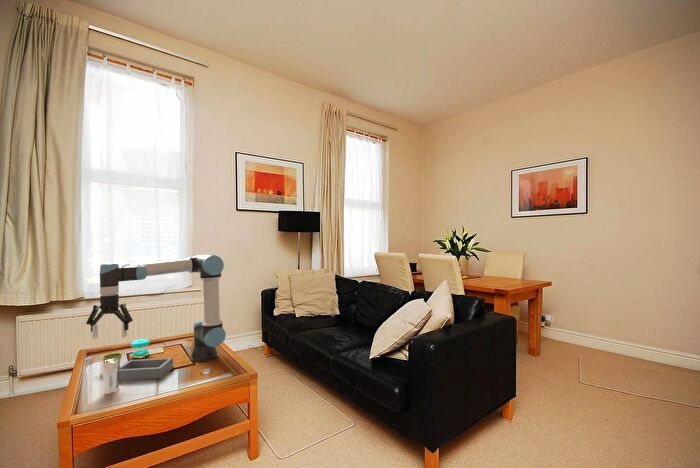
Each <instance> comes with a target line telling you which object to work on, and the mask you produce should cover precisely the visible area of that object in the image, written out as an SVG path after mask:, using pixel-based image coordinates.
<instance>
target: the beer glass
mask: <svg viewBox="0 0 700 468" xmlns="http://www.w3.org/2000/svg"><path fill="white" fill-rule="evenodd" d="M120 364H121V362H120V363H119V359H118V358H114V359H108V360H105V361H103V362H102V373H101V374H102V379H103V382H104V390H103V394H104V395H110V394H114V393H117V392H118V391H120V390H119V389H120V387H119V382H118V378H119V372H120V367H121V365H120Z"/></svg>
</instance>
